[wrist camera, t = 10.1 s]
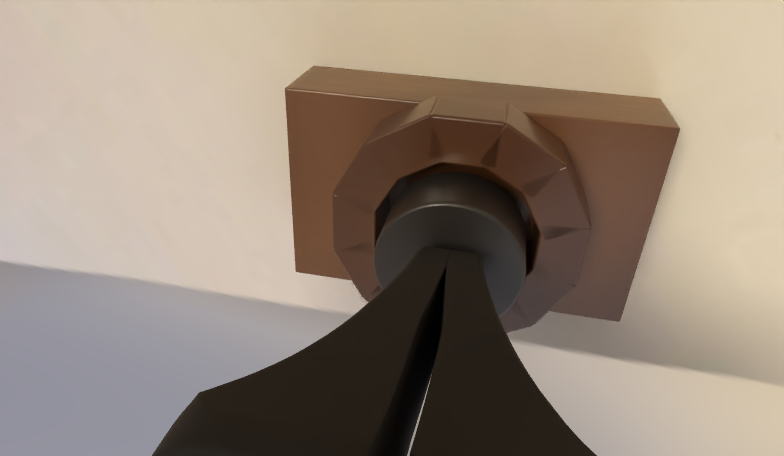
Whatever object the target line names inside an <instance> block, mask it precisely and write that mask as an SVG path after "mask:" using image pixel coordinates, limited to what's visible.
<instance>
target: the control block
mask: <svg viewBox="0 0 784 456" xmlns="http://www.w3.org/2000/svg"><path fill="white" fill-rule="evenodd" d="M285 97H286V114H287V131H288V147H289V164H290V181H291V198H292V215H293V232H294V249H295V266H296V272H300V273H307V274H313V275H320V276H326V277H333V278H339V279H346V280H352V281H353V283H354V284H355V286H356V288H357V289H358V291H359V293H360V294H361V296H362V297H363V298H364V299H365V300H366V301H368V302H370V301H371V300H372V299H373V298H375V297H376V296H377V295H378V294H379V293H380V292H381V291H382V288H381V286H380V284H379V282H378V279H377V276H376V273H375V268H374V250H375V246H376V242H377V240H378V237H379V235H380V233H381V230H382V228H383V226H384V224H385V221H386V219H387V217H388V214H389V212H390V210H391V208H392V205H393V203H394V202H395V200H396V199H397V197H398V196H399V195H400V194H401V193H402V191H403V190H405V189H406V188H407V187H408V186H409V185H411V184H412V183H414V182H415V181H417V180H419V179H421V178H423V177H426V176H429V175H432V174H437V173H442V172H463V173H468V174H473V175H476V176H479V177H482V178H484V179H487V180H489V181H491V182H492V183H494V184H496V185H497V186H499V187H500V188H501V189H502V190H504V191H505V192H506V193H507V194H508V195H509V196H510V197H511V198H512V199H513V201H514V202H515V203H516V205H517V206H518V208H519V210H520V212H521V214H522V217H523V219H524V223H525V228H526V277H525V282H524V286H523V289H522V291H521V293H520V295H519V297H518V299H517V300H516V302H515V303H514V304H513V305H512V306H511V307H510V308H509V310H508V311H506V312H505V313H504V314H503V315H502V316H500V317H499V319H500V321H501V323H502V326H503V328H504V330H505V332H506V333H507V332H511V331H515V330H519V329H522V328H526V327H530V326H532V325H534V324H535V323H536V322H537V321H538V320H540V319H541V318H542V317H543V316H544V315H545V314H546V313H547V312H548V311H553V312H559V313H566V314H572V315H579V316H585V317H592V318H598V319H605V320H611V321H617V322H619V321H620V319H621V316H622V313H623V310H624V306H625V303H626V300H627V297H628V294H629V291H630V287H631V284H632V281H633V278H634V275H635V271H636V268H637V265H638V262H639V259H640V255H641V252H642V249H643V246H644V243H645V240H646V236H647V233H648V230H649V227H650V224H651V220H652V217H653V214H654V211H655V208H656V205H657V201H658V198H659V195H660V192H661V189H662V185H663V182H664V179H665V176H666V173H667V169H668V166H669V163H670V160H671V157H672V154H673V150H674V147H675V144H676V141H677V138H678V134H679V131H680V128H679V126H678V125H677V123H676V122H675V120H674V119H673V117H672V116H671V114H670V113H669V111H668V110H667V108H666V107H665V105H664V104H663V102H662V101H661V99H657V98H646V97H636V96H625V95H615V94H604V93H594V92H583V91H572V90H562V89H551V88H541V87H530V86H520V85H509V84H499V83H488V82H478V81H467V80H457V79H446V78H436V77H425V76H415V75H404V74H394V73H383V72H373V71H362V70H352V69H341V68H331V67H320V66H313V67H311V68H310V69H309V70H308V71H306V72H305V73H304V74H303V75H301V76H300V77H299V78H298V79H296V80H295V81H294V82H292V83H291V84H290V85H289V86H287V87H286V88H285Z"/></svg>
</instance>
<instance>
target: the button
mask: <svg viewBox="0 0 784 456" xmlns="http://www.w3.org/2000/svg"><path fill="white" fill-rule="evenodd" d="M423 246H429V247H436V248H442V249H449V250H456V251H462V252H469V253H476V254H479V255H480V256H481V257H482V259H483V268H484V274H485V278H486V282H487V285H488V289H489V292H490V295H491V298H492V301H493V303H494V306H495V309H496V311H497V314H498V316H499V317H500V316H502V315H503V314H504V313H505V312H506V311H508V310H509V308H510V307H511V306H512V305H513V304H514V303H515V302H516V300H517V299H518V297H519V295H520V293H521V291H522V289H523V286H524V282H525V277H526V228H525V223H524V219H523V217H522V214H521V212H520V210H519V208H518V206H517V205H516V203H515V202H514V201H513V199H512V198H511V197H510V196H509V195H508V194H507V193H506V192H505V191H504V190H502V189H501V188H500V187H499V186H497V185H496V184H494V183H492V182H491V181H489V180H487V179H484V178H482V177H479V176H476V175H473V174H468V173H463V172H442V173H437V174H432V175H429V176H426V177H423V178H421V179H419V180H417V181H415V182H414V183H412V184H411V185H409V186H408V187H407V188H406V189H405V190H403V191H402V193H401V194H400V195H399V196H398V197H397V199H396V200H395V202H394V203H393V205H392V208H391V210H390V212H389V214H388V217H387V219H386V221H385V224H384V226H383V228H382V230H381V233H380V235H379V237H378V240H377V242H376V246H375V250H374V268H375V273H376V276H377V279H378V282H379V284H380V286H381V288H382V290H383V289H384V288H385V287H386V286H387V285H388V284H389V283H390V282H391V281H392V280H393V279H394V278H395V277H396V276H397V275H398V274H399V273H400V272H401V270H402V269H403V268H404V267H405V266H406V265H407V264H408V263H409V261H410V260H411V259H412V258H413V256H414V255H415V254H416V252H417V251H418V250H419V249H420V248H422V247H423Z"/></svg>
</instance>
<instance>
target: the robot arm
mask: <svg viewBox="0 0 784 456" xmlns="http://www.w3.org/2000/svg"><path fill="white" fill-rule="evenodd" d="M432 371H433V372H432ZM431 374H432V376H431ZM430 377H431V380H430ZM429 381H430V384H429ZM428 384H429V388H428V391H427V387H428ZM426 391H427V395H426V399H425V403H424V406H423V410H422V414H421V417H420V421H419V425H418V428H417V431H416V435H415V438H414V442H413V445H412V448H411V451H410V456H597V455H595V454H594V453H593V452H592V451H591V450H590V449H589V448H588V447H587V446H586V445H585V444H584V443H583V442H582V441H581V440H580V439H579V438H578V437H577V436H576V435H575V434H574V432H573V431H572V430H571V429H570V428H569V427H568V426H567V425H566V423H565V422H564V421H563V420H562V418H561V417H560V416H559V415H558V413H557V412H556V411H555V409H554V408H553V407H552V406H551V404H550V403H549V402H548V401H547V399H546V398H545V397H544V395H543V394H542V393H541V391H540V390H539V389H538V387H537V386H536V384H535V383H534V381H533V380H532V378H531V377H530V375H529V374H528V372H527V370H526V369H525V367H524V366H523V364H522V362H521V361H520V359H519V357H518V355H517V354H516V352H515V350H514V348H513V346H512V344H511V342H510V340H509V338H508V336H507V334H506V332H505V330H504V328H503V326H502V323H501V321H500V319H499V316H498V314H497V311H496V309H495V306H494V303H493V301H492V298H491V295H490V292H489V289H488V285H487V282H486V278H485V274H484V268H483V259H482V257H481V256H480V255H479V254H476V253H469V252H462V251H456V250H449V249H442V248H436V247H429V246H423V247H422V248H420V249H419V250H418V251H417V252H416V254H415V255H414V256H413V258H412V259H411V260H410V261H409V263H408V264H407V265H406V266H405V267H404V268H403V269H402V270H401V272H400V273H399V274H398V275H397V276H396V277H395V278H394V279H393V280H392V281H391V282H390V283H389V284H388V285H387V286H386V287H385V288H384V289H383V290H382V291H381V292H380V293H379V294H378V295H377V296H376V297H375V298H373V299H372V300H371V301H370V302H369V303H368V304H367V305H365V306H364V307H363V308H362V309H361V310H360V311H358V312H357V313H356V314H355V315H354V316H352V317H351V318H350V319H348V320H347V321H346V322H344V323H343V324H342V325H340V326H339V327H338V328H336V329H335V330H333V331H332V332H330V333H329V334H328V335H326V336H324V337H323V338H321V339H320V340H318V341H316V342H315V343H313V344H311V345H310V346H308V347H306V348H305V349H303V350H301V351H299V352H298V353H296V354H294V355H292V356H290V357H288V358H286V359H284V360H282V361H280V362H278V363H276V364H274V365H271V366H269V367H267V368H265V369H262V370H260V371H258V372H256V373H253V374H250V375H248V376H246V377H243V378H240V379H238V380H234V381H232V382H229V383H226V384H223V385H220V386H217V387H215V388H212V389H209V390H206V391H203V392H200V393H198V395H197V396H196V397H195V399H194V400H193V401H192V402H191V403H190V404H189V405H188V407H187V408H186V409H185V410H184V411H183V412H182V414H181V415H180V416H179V417H178V419H177V420H176V421H175V423H174V424H173V425H172V427H171V428H170V430H169V431H168V433H167V434H166V436H165V437H164V438H163V440H162V441H161V443H160V444H159V446H158V447H157V449H156V450H155V452H154V453H153V455H152V456H407V454H408V450H409V446H410V442H411V439H412V436H413V432H414V429H415V426H416V423H417V419H418V416H419V413H420V410H421V407H422V403H423V400H424V397H425V394H426Z"/></svg>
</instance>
